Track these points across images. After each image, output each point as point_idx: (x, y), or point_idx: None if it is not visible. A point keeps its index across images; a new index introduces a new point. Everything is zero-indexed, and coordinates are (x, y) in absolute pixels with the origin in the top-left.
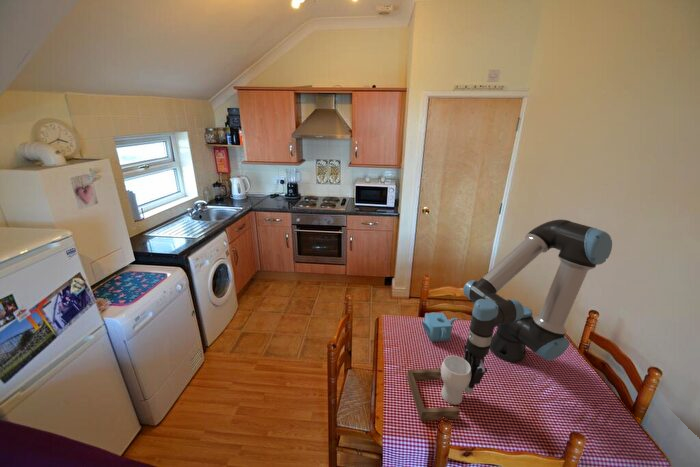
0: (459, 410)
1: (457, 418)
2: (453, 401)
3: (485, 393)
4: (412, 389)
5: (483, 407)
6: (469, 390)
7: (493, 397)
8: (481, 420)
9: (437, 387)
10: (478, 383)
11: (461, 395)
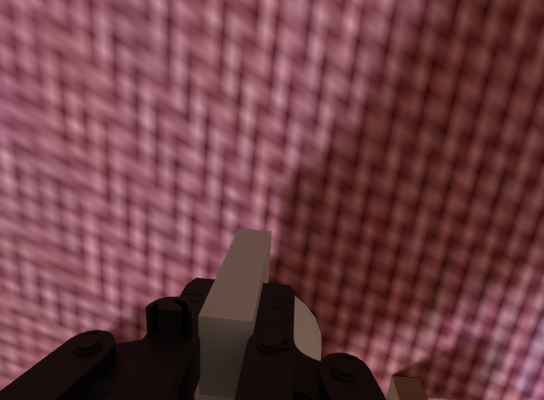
0: None
1: (419, 385)
2: None
3: (254, 82)
4: None
5: (375, 175)
6: (267, 273)
7: (301, 31)
8: (468, 247)
9: None
10: (370, 385)
11: (301, 347)
